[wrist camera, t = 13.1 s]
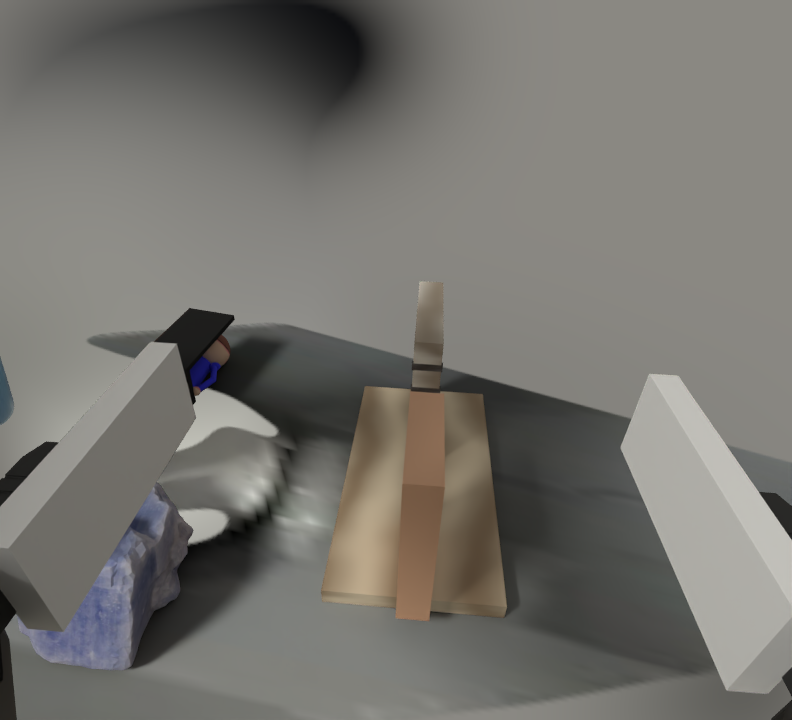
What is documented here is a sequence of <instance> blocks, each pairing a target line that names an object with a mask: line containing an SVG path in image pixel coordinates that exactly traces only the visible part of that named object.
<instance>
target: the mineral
mask: <svg viewBox="0 0 792 720" xmlns="http://www.w3.org/2000/svg"><path fill="white" fill-rule="evenodd" d="M192 533H193V529H192V527H191V526H189V525H188V524H187V523H186V522H185V521H184V520H183V518H182V517H181V516H180V515H179V513H178V511H177V508H176V506H175V505H174V504H173V503H172V502H171V501H170V500H169V498H168V497H167V495H166V493H165V492H164V490H163V488H162V487H161V485H160V484H158V483H157V482H156V484H155V485H154V487H153V488H152V490H151V492H150V493H149V495H148V497H147V498H146V500H145V501H144V503H143V505H142V506H141V508H140V509H139V511H138V513H137V514H136V516H135V518H134V519H133V521H132V522H131V524H130V526H129V527H128V529H127V531H126V532H125V534H124V535H123V537H122V539H121V540H120V542H119V543H118V545H117V547H116V548H115V550H114V552H113V553H112V555H111V556H110V558H109V560H108V561H107V563H106V565H105V566H104V568H103V569H102V571H101V573H100V574H99V576H98V578H97V579H96V581H95V582H94V584H93V586H92V587H91V589H90V590H89V592H88V594H87V595H86V597H85V599H84V600H83V602H82V603H81V605H80V607H79V608H78V610H77V612H76V613H75V615H74V616H73V618H72V620H71V621H70V623H69V624H68V626H67V628H66V629H65V631H64V632H57V631H46V630H35V629H27V628H26V626H25V625H24V624H23V622H22V621H21V620H20V618H19V617H18V624H19V629H20V632H22V633H23V634H25V635H27V636H29V638H30V640H31V642H32V646H33V648H34V649H35V651H36V653H37V654H39V655H40V656H41V657H42V658H43V659H45V660H48V661H49V662H51V663H62V664H68V665H74V666H83V667H87V668H90V669H104V670H126V669H128V668H129V667H131V666H132V664H133V662H134V659H135V656H136V653H137V651H138V646H139V642H140V639H141V637H142V634H143V632H144V630H145V628H146V626H147V624H148V621H149V619H150V617H151V615H152V614H153V612H154V611H155V610H157V609H159V608H161V607H164V606H166V605H167V604H168V603H169V601H172V600H174V599H176V598H177V596H178V594H179V592H180V583H179V578H178V574H177V569H178V567H179V565H180V563H181V561H182V560H183V559H184V557H185V556H186V555H187V549H188V548H187V544H188V540H189V538H190V537H191V535H192Z"/></svg>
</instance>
